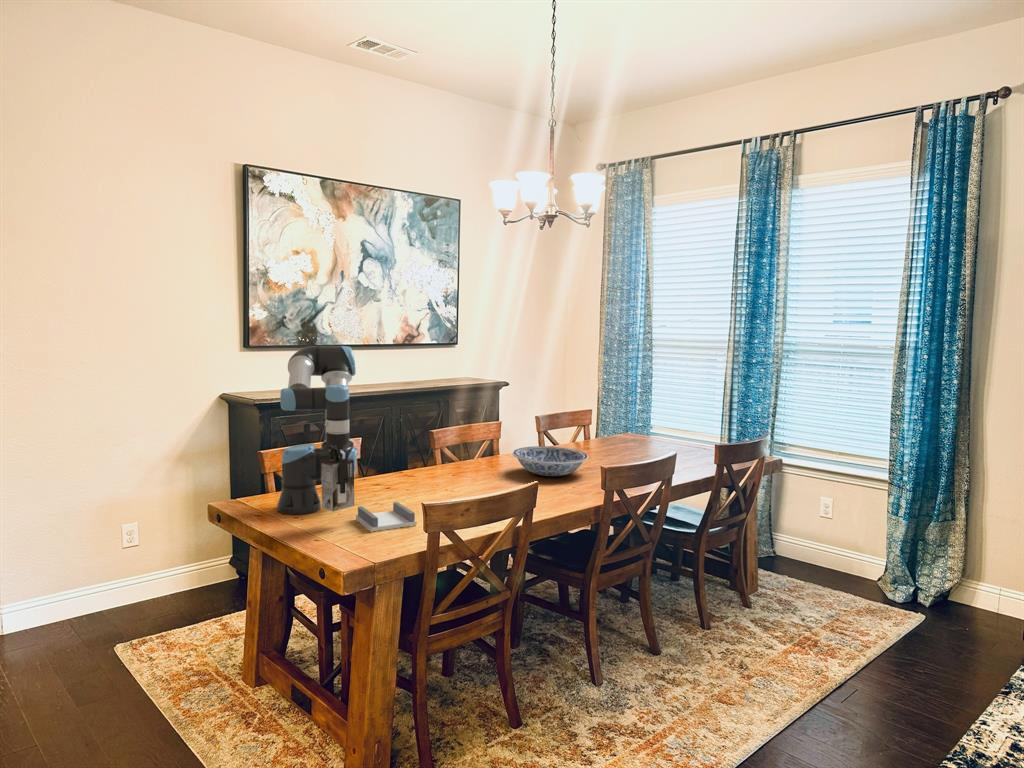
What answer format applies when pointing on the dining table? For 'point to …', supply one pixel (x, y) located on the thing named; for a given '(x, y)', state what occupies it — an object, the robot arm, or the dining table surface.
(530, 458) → the ceramic bowl
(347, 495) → the coffee box
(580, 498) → the dining table surface
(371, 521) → the guide cradle
